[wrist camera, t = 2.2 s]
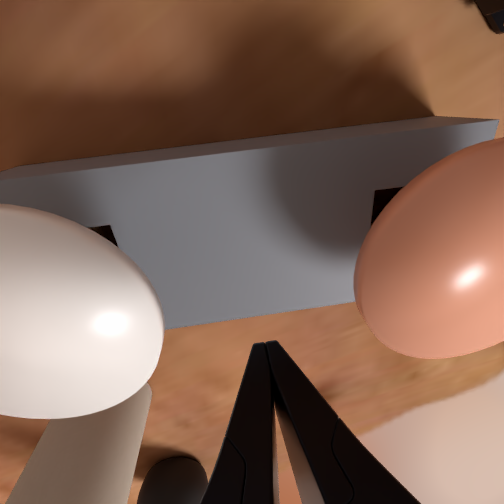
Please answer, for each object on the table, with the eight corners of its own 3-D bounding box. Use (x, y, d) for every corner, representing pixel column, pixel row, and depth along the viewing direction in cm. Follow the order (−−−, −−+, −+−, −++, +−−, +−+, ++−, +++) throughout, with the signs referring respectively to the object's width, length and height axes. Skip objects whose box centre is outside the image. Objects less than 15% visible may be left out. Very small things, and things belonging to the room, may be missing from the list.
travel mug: (51, 385, 27) (-177, 767, 12) (116, 351, 26) (-41, 726, 10) (109, 423, 31) (-5, 754, 15) (168, 395, 30) (110, 722, 14)
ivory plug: (25, 124, 13) (-111, 139, 8) (213, 245, 17) (210, 311, 12) (-44, 280, 17) (-174, 367, 11) (127, 351, 21) (93, 441, 15)
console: (435, 116, 19) (499, 119, 15) (408, 254, 24) (450, 287, 20) (19, 165, 18) (-46, 186, 14) (84, 300, 23) (53, 346, 19)
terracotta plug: (425, 79, 14) (556, 63, 9) (516, 204, 18) (644, 247, 13) (283, 236, 18) (312, 296, 12) (386, 312, 22) (443, 384, 16)
